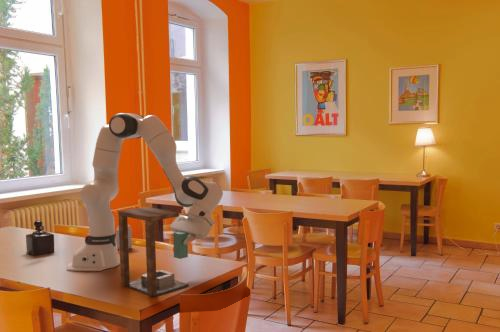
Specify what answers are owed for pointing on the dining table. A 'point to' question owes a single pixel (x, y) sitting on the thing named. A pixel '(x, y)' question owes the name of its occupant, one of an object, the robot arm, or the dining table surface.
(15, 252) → the dining table surface
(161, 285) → the socket
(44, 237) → the black block with knob
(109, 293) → the dining table surface
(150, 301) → the dining table surface
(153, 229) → the open wooden frame
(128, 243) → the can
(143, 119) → the robot arm
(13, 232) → the dining table surface
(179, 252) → the post
